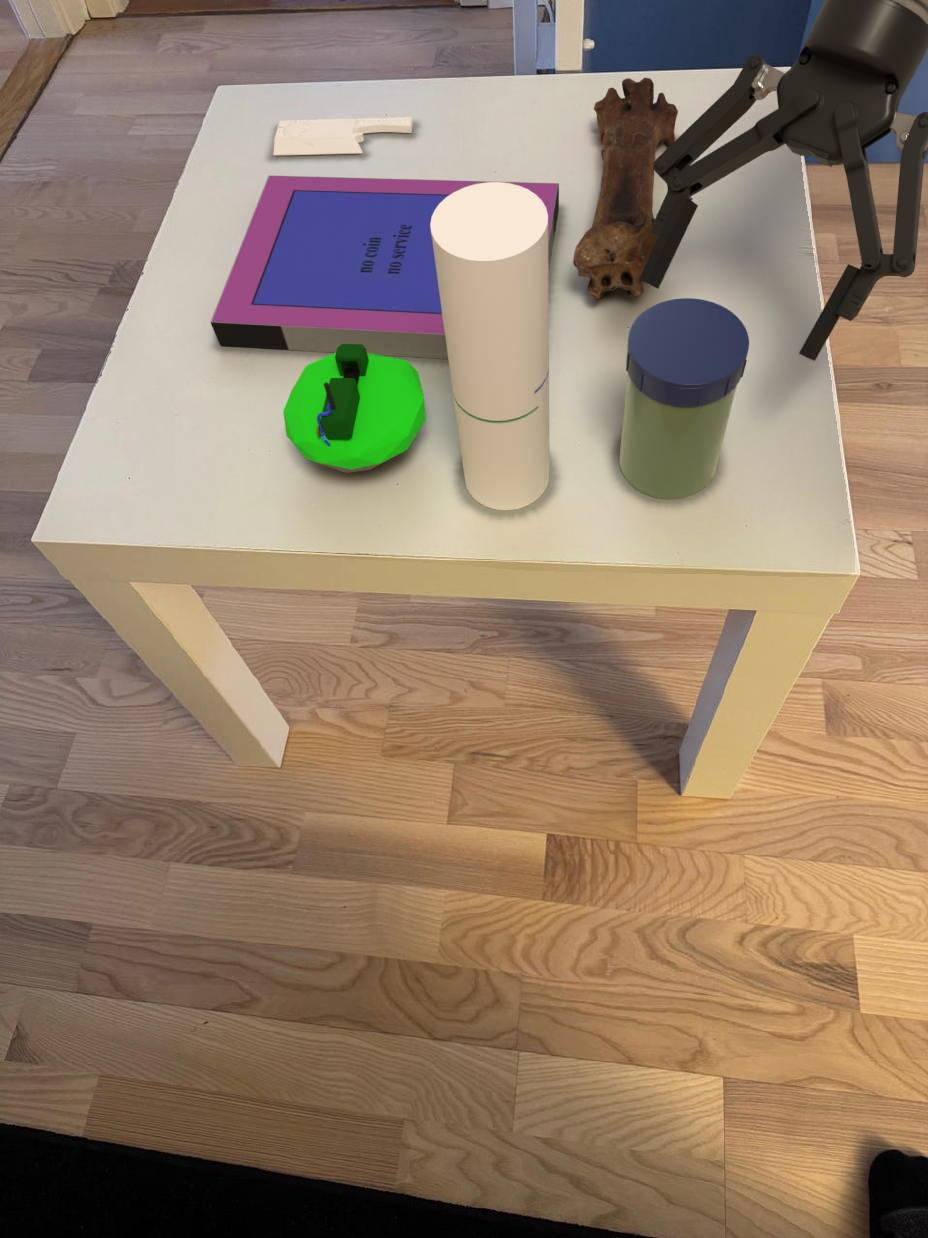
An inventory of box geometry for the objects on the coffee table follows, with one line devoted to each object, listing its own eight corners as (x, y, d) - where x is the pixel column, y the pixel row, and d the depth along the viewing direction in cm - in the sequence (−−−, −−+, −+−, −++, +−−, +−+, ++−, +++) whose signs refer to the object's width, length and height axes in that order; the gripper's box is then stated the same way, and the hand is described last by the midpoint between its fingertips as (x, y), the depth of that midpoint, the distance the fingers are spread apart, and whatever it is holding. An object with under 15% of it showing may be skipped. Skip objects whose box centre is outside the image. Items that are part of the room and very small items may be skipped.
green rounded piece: (422, 501, 77) (404, 412, 67) (287, 496, 78) (250, 408, 69) (440, 392, 83) (424, 295, 73) (313, 389, 84) (282, 294, 74)
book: (532, 339, 81) (210, 322, 85) (533, 363, 83) (220, 346, 88) (558, 183, 90) (268, 175, 95) (558, 209, 93) (276, 200, 97)
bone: (683, 42, 92) (670, 231, 77) (682, 124, 99) (670, 312, 84) (594, 52, 94) (564, 237, 79) (598, 131, 101) (572, 316, 86)
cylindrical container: (565, 462, 78) (569, 202, 56) (521, 523, 75) (508, 275, 53) (493, 430, 80) (470, 169, 58) (448, 489, 77) (407, 238, 55)
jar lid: (765, 352, 67) (771, 328, 65) (703, 425, 64) (707, 402, 62) (666, 306, 70) (670, 282, 68) (603, 374, 67) (604, 351, 65)
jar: (735, 451, 77) (766, 333, 65) (682, 515, 74) (705, 404, 63) (653, 409, 80) (670, 290, 68) (600, 469, 77) (608, 356, 66)
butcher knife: (407, 153, 99) (406, 143, 98) (273, 156, 101) (271, 147, 100) (413, 123, 102) (411, 113, 101) (282, 126, 104) (279, 117, 103)
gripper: (1069, 88, 60) (886, 393, 68) (732, -17, 69) (606, 264, 77) (1076, 46, 53) (873, 388, 62) (704, -64, 62) (569, 248, 71)
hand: (724, 320), depth 69 cm, fingers open, 13 cm apart
